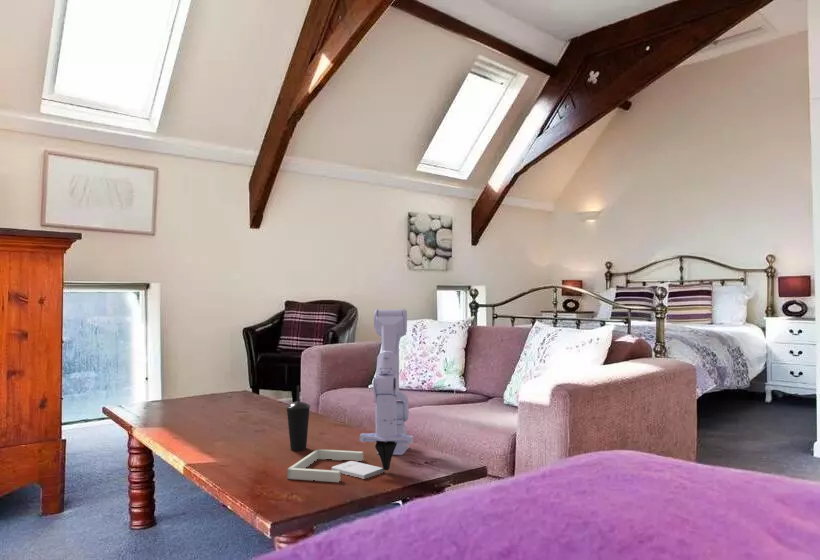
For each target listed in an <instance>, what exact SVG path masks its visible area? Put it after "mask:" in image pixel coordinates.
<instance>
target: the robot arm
mask: <svg viewBox="0 0 820 560" xmlns="http://www.w3.org/2000/svg"><path fill="white" fill-rule="evenodd" d="M407 312H408V311H407V310H406V308H403V309H377V308H376V309H375V311H374V312H373V326H374V330H375V333H376V335H377V336H379V337H381V352H380V353H378V355H377V356H376V357H377V358H376V372H375V376H374V377H373V380H372V381H373V382H372V391H373V395H374V396H373V397H374V399H373V400H374V403H375V411H374V412H375V413H374V414H375V432H365V433H364V432H362V433H360V434H359V442H360V443H364V442H367V443H368V442H371V443H373V442H374V443H375V445H374V447H375V449H376V454H378V455H379V458H380V460H381V465H382V468H383V470H385V471H389V470H390V467H391V461H392V457H393V455H395V456H402V455H404V454H405V453H406V452H407V450H409V448H410V445H412V444H413V443H414V436H413V435H409V434H407V426H406V424H405V422H408V420H409V409H410V408H409V398H408V396H407V394H406V393H404V392H403V391H402V390H400V341H401V338H402V337H404V336H406V335H407V331H408V330H407V329H408V313H407Z"/></svg>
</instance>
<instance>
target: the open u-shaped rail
mask: <svg viewBox="0 0 820 560" xmlns="http://www.w3.org/2000/svg"><path fill="white" fill-rule="evenodd" d="M317 459H318V460H326V459H332V460H331V461H342V460H356V461H355V462H358V461H362V460H363V461H364V451H357V450H338V449H323V448H321V449H320V448H317V449H314V451H312V452H311V453H309V454H308V455H306V456H305V457H303V458H302V459H300V460H299V461H297V462H296V463H294V464H293V465H291V466H289V467H288V468H287V469H286V479H288V480H298V481H299V480H302V481H313V480H315V482H329V483H330V482H331V483H340V482H341V475H342V474H341V471H334V470H330V469H319V468H318V469H317V468H308V467H309V466H311V465H312V464H313V463H315V462H316V461H318V460H317ZM314 461H315V462H314ZM363 461H362V462H363ZM310 464H311V465H310ZM306 467H307V468H306ZM339 481H340V482H339Z"/></svg>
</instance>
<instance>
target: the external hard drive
mask: <svg viewBox="0 0 820 560" xmlns="http://www.w3.org/2000/svg"><path fill="white" fill-rule="evenodd" d="M330 469H331V470H334V471H341V473H342V474H341V475H343V474H345V475H344V476H347V475H350V476H349V477H351V476H354V477H359V478H362V479H365V478H368V477H371V476H374V475H376V474H379V473H382V472H384V471H386V470H383V467H380V466H375V465H372V464H367V463H363V462H358V461H345V462H343V463H339V464H336V465H333V466H331V468H330ZM384 473H385V472H384ZM382 474H383V473H382ZM379 475H380V474H379ZM354 477H353V478H354ZM374 477H375V476H374ZM371 478H372V477H371ZM362 479H361V480H362ZM368 479H369V478H368Z"/></svg>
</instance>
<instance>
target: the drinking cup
mask: <svg viewBox="0 0 820 560" xmlns="http://www.w3.org/2000/svg"><path fill="white" fill-rule="evenodd" d="M310 408H311V404H310V403H307V402H305V401H300V385H299V384H297V385H296V401H294V402H291V403H289V404H287V405H285V409H286V414H287V424H288V435H289V446H290V450H291V451H293V452H301V451H305V450H307V445H308V432H309V431H308V430H309V419H310Z"/></svg>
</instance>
